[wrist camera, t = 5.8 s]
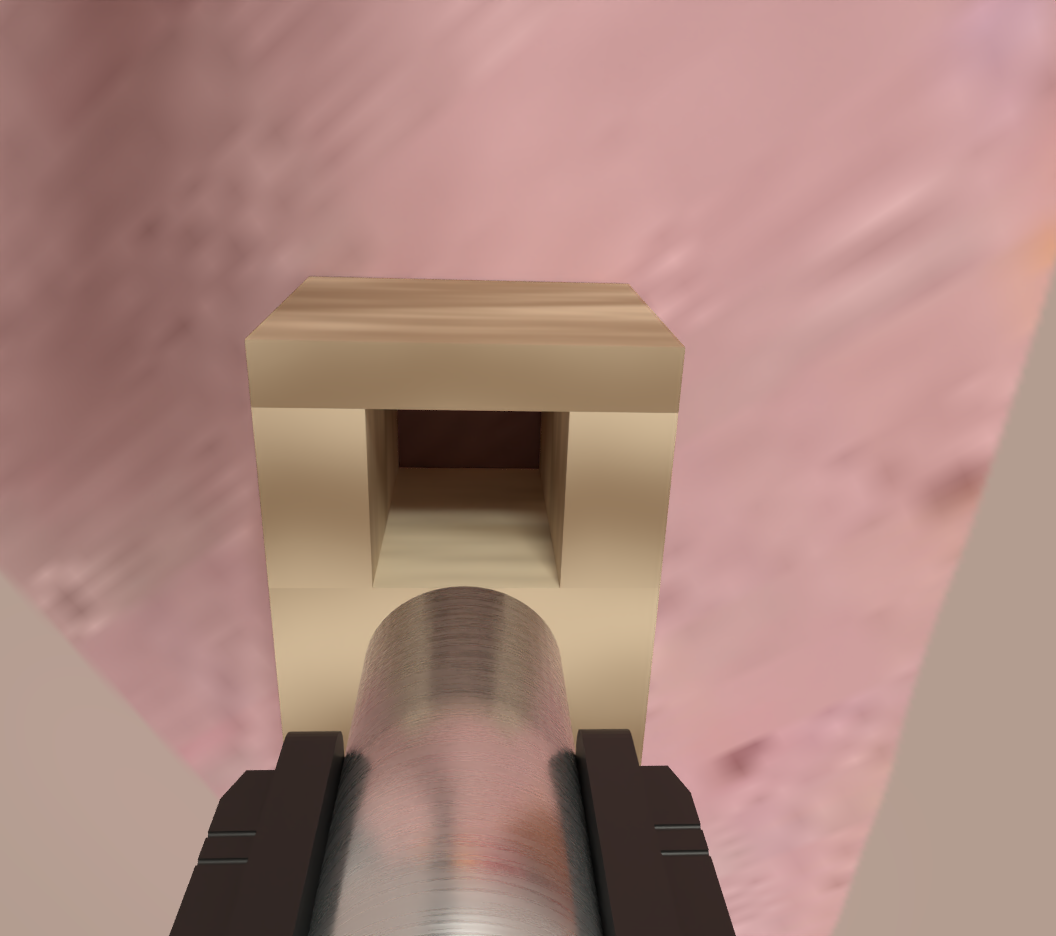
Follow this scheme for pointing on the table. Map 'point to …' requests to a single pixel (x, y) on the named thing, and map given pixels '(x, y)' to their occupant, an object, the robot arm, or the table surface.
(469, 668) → the pin
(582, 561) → the block
